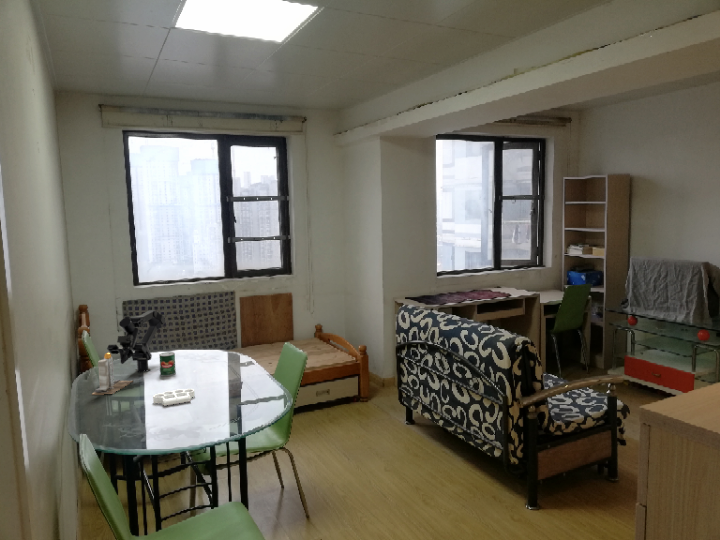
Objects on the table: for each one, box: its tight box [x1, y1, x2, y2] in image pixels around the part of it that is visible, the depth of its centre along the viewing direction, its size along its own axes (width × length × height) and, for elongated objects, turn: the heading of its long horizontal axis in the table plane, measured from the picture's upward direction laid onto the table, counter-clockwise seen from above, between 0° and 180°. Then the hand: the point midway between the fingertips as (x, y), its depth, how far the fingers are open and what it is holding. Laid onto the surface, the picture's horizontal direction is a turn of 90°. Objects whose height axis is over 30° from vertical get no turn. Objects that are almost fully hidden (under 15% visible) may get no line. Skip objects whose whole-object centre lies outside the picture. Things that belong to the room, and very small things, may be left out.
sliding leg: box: [102, 352, 115, 387], centre depth 257 cm, size 4×6×17 cm
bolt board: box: [91, 359, 134, 396], centre depth 260 cm, size 20×10×16 cm, turn 177°
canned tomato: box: [158, 351, 177, 377], centre depth 284 cm, size 8×8×11 cm
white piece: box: [152, 388, 195, 407], centre depth 240 cm, size 3×18×15 cm
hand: (121, 363), depth 269 cm, fingers closed
